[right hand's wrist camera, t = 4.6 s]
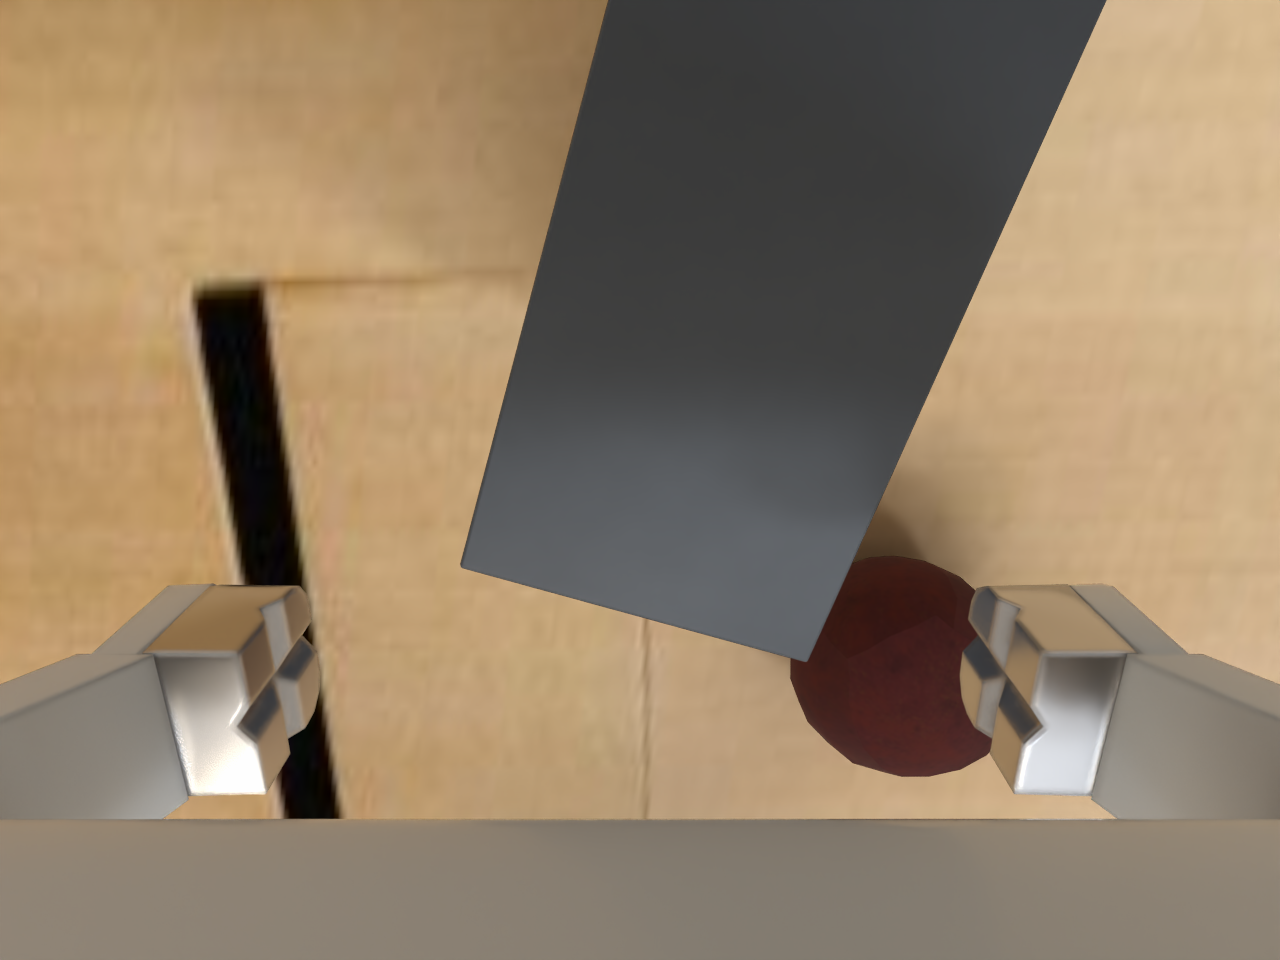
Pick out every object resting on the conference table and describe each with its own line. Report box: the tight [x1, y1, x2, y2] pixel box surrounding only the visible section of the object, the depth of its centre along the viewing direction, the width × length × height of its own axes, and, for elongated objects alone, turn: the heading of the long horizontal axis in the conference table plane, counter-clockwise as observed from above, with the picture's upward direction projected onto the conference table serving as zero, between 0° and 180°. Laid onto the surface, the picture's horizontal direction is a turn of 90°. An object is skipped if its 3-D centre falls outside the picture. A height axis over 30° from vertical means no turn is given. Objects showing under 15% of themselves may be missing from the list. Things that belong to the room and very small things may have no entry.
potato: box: [791, 556, 992, 777], centre depth 29 cm, size 7×8×7 cm
